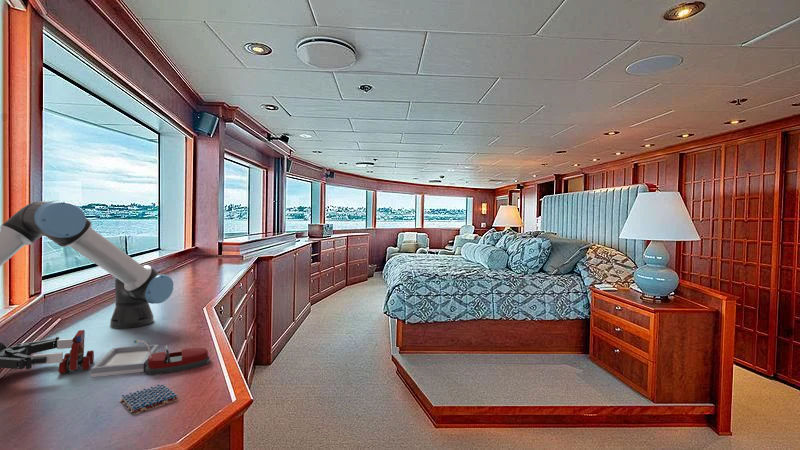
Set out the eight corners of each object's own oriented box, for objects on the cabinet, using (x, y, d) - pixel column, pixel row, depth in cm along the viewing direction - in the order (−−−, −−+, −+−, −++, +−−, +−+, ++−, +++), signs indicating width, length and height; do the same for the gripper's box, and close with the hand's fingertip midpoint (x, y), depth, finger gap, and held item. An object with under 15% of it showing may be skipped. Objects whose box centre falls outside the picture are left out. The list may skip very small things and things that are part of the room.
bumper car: (211, 366, 123) (211, 334, 122) (133, 380, 112) (133, 345, 111) (207, 356, 131) (207, 326, 130) (134, 368, 120) (134, 336, 120)
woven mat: (132, 418, 92) (132, 409, 92) (118, 403, 99) (118, 395, 99) (180, 402, 100) (180, 394, 100) (164, 389, 107) (164, 382, 107)
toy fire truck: (56, 378, 112) (56, 341, 112) (67, 363, 123) (67, 330, 123) (87, 373, 115) (87, 338, 115) (95, 359, 126) (95, 327, 126)
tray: (113, 355, 130) (113, 348, 130) (158, 351, 134) (158, 344, 134) (90, 377, 113) (90, 368, 113) (143, 371, 117) (143, 363, 117)
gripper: (9, 354, 123) (90, 348, 130) (-52, 388, 100) (52, 378, 107) (8, 331, 123) (90, 325, 130) (-53, 359, 99) (51, 351, 106)
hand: (73, 349), depth 118 cm, fingers open, 13 cm apart
